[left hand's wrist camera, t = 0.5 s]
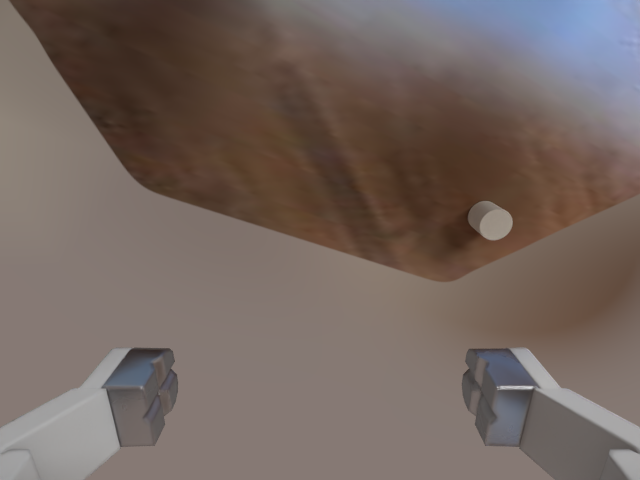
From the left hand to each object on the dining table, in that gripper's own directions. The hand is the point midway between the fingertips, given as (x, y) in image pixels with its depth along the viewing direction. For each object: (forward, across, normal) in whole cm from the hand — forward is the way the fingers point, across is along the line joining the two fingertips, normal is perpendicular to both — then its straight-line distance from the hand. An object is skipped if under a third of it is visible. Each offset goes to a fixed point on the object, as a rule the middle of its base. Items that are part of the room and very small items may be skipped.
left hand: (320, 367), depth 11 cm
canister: (+45, -24, +9) cm, 51 cm away
